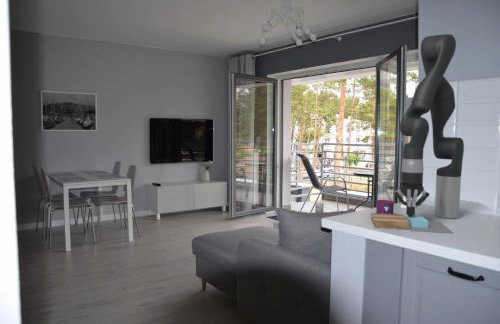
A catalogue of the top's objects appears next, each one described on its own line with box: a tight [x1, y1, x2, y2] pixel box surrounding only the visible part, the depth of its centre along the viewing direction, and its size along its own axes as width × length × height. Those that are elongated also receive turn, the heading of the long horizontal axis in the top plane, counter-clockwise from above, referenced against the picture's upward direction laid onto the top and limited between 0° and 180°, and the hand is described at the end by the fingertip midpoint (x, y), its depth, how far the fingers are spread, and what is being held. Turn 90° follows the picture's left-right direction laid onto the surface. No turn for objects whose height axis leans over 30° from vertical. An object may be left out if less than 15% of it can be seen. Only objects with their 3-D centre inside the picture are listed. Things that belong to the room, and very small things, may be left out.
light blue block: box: [404, 214, 429, 228], centre depth 148 cm, size 9×6×2 cm, turn 173°
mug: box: [375, 199, 395, 214], centre depth 163 cm, size 7×10×7 cm
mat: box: [409, 220, 454, 234], centre depth 146 cm, size 16×14×1 cm
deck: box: [370, 212, 410, 230], centre depth 149 cm, size 14×12×2 cm
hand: (410, 216), depth 148 cm, fingers closed
